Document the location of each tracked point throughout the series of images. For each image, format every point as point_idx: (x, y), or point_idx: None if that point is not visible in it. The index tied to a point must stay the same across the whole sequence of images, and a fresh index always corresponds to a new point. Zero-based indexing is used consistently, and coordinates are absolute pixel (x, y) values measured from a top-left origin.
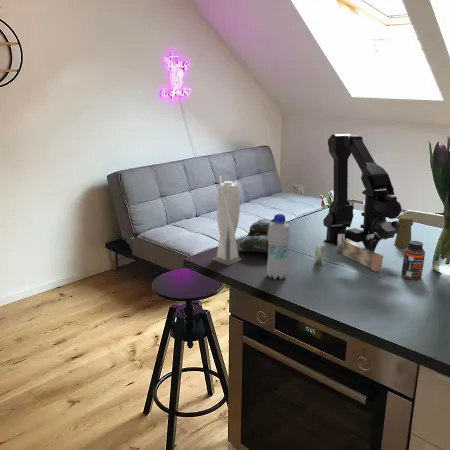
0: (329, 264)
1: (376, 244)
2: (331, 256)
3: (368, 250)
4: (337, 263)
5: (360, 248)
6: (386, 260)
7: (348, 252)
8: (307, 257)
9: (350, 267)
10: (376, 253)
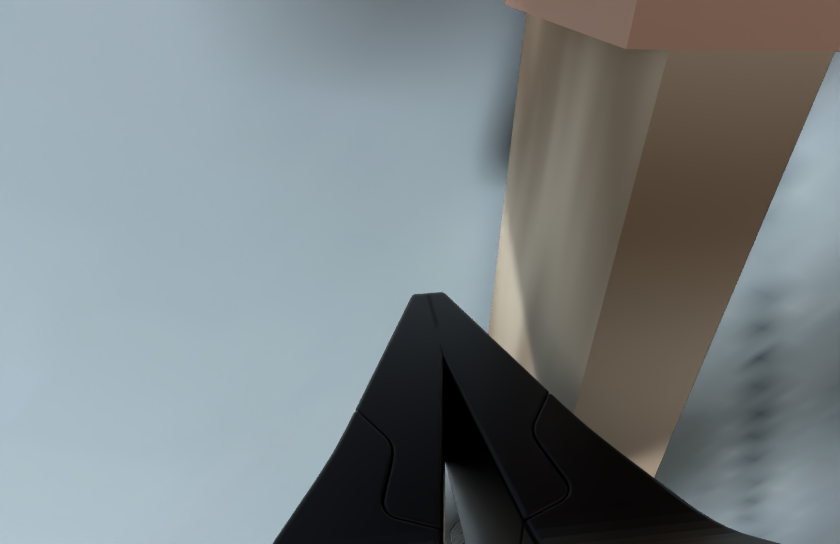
0: (820, 380)
1: (360, 474)
2: None
3: (633, 346)
4: (732, 374)
5: (656, 470)
6: (88, 245)
7: None
8: (795, 530)
9: None
10: (665, 87)
